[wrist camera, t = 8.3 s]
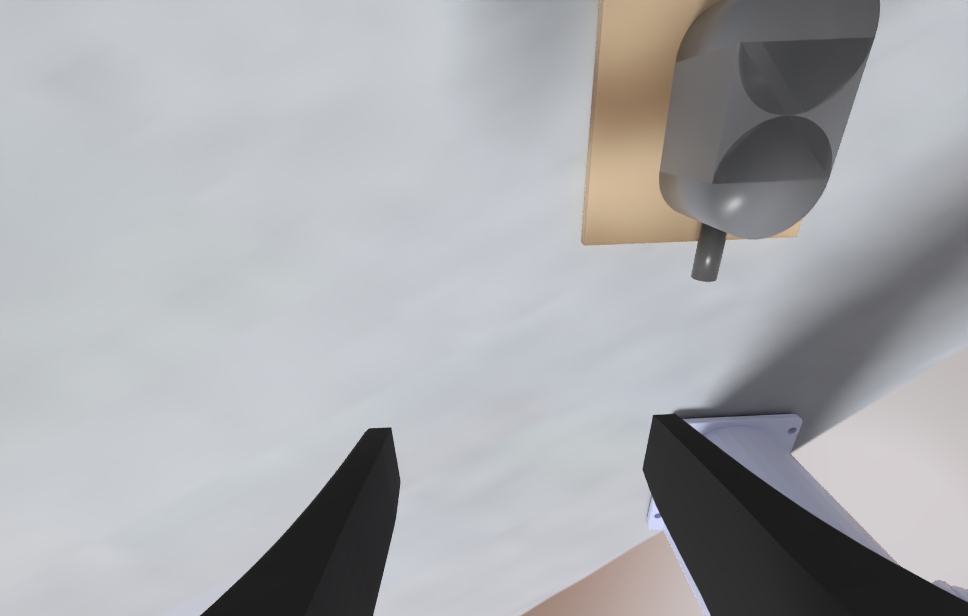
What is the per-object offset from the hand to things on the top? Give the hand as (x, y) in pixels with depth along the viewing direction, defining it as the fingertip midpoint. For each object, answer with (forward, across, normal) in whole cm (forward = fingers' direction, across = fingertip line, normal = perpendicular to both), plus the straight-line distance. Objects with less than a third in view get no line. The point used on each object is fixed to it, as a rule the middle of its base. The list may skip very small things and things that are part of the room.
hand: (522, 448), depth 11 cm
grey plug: (+9, -9, -7) cm, 15 cm away
